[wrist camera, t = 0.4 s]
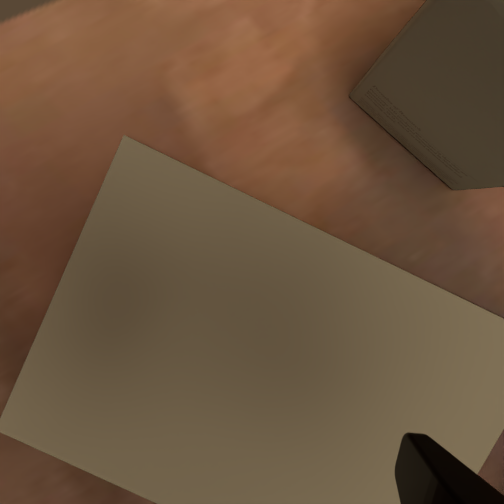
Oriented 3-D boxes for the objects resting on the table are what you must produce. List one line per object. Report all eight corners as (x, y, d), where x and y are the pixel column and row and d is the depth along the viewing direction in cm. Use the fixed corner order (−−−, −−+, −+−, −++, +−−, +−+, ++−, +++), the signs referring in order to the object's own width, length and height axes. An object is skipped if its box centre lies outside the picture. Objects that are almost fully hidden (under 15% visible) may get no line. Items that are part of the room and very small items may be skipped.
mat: (394, 604, 25) (397, 612, 25) (0, 425, 24) (-5, 430, 24) (547, 339, 23) (553, 342, 23) (126, 136, 22) (123, 134, 22)
